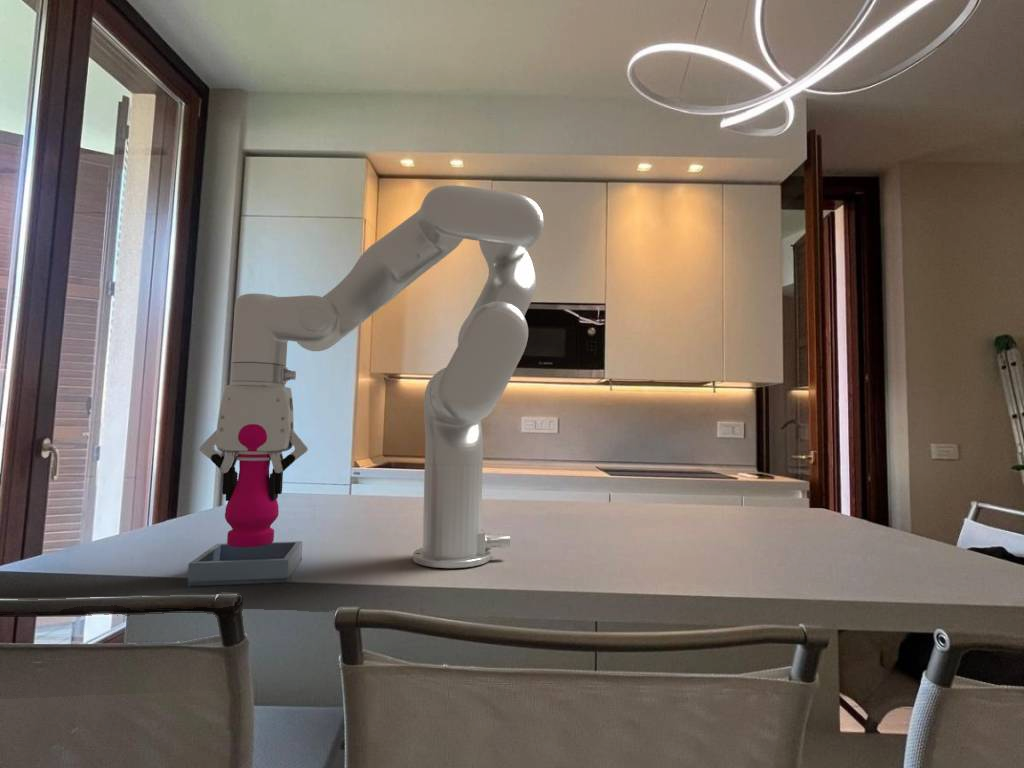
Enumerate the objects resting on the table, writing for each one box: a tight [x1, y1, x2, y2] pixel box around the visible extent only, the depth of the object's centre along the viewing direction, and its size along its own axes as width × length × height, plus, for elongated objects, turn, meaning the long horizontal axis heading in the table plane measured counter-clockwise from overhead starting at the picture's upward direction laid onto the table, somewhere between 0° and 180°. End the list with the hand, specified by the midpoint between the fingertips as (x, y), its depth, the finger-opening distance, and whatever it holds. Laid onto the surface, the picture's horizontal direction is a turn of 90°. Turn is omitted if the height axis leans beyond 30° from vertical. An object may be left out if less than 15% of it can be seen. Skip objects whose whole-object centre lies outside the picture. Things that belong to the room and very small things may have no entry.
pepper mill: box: [224, 424, 280, 547], centre depth 84 cm, size 7×7×20 cm
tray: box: [187, 540, 303, 587], centre depth 83 cm, size 13×13×3 cm
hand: (252, 498), depth 84 cm, fingers closed on pepper mill, 5 cm apart
